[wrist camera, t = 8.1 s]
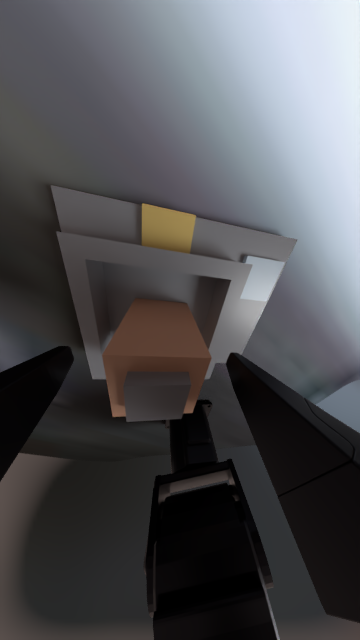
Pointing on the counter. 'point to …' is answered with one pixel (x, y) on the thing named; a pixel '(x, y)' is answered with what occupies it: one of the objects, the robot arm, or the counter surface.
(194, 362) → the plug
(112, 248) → the dock
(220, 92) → the counter surface
